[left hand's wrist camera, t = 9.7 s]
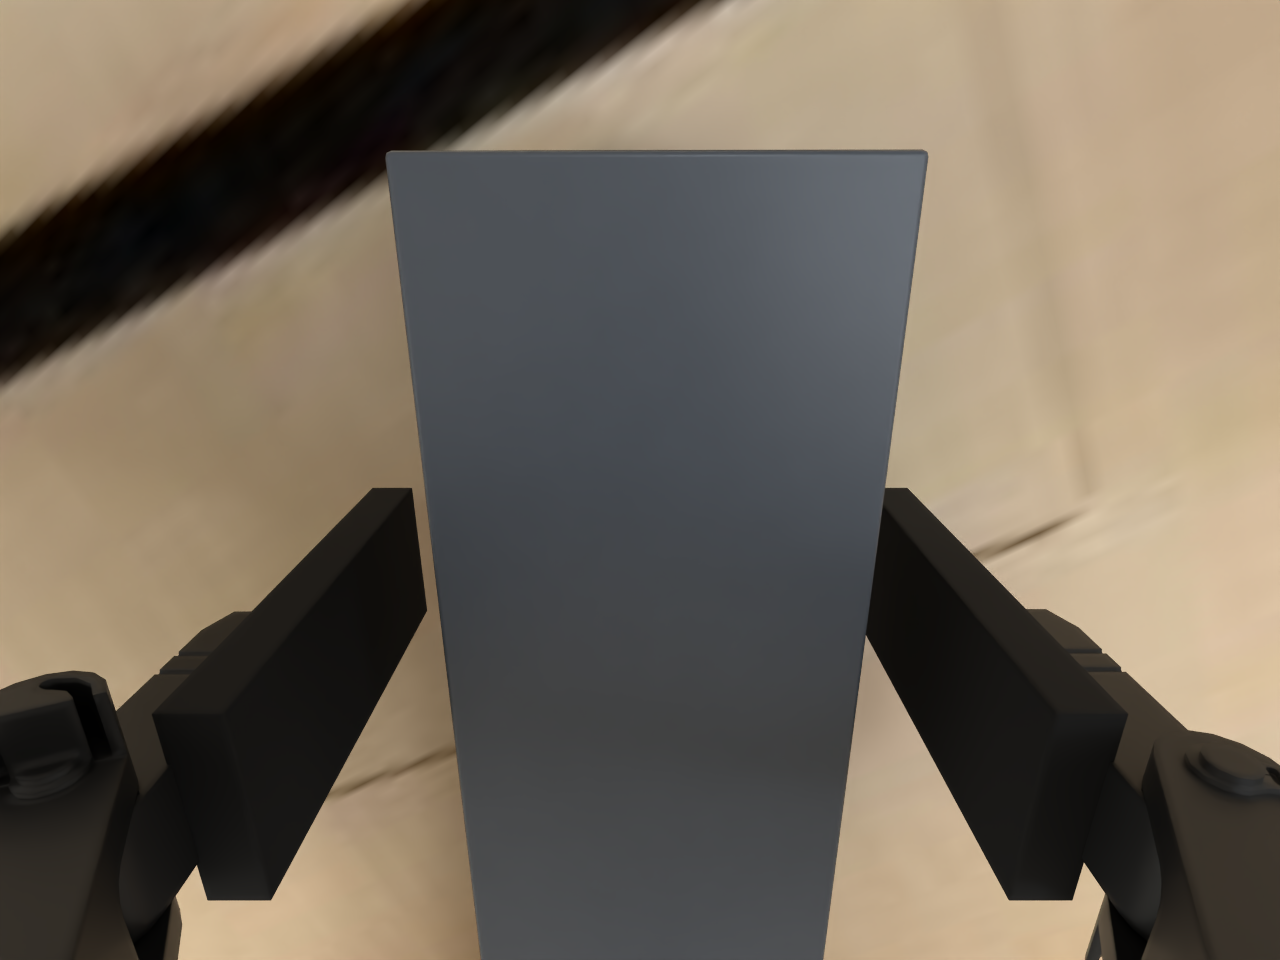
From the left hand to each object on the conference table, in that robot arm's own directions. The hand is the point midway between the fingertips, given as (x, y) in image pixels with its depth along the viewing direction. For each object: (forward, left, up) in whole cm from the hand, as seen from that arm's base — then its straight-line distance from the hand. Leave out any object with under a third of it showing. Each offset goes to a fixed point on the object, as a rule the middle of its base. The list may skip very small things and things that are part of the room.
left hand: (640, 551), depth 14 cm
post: (+25, +6, -3) cm, 26 cm away
